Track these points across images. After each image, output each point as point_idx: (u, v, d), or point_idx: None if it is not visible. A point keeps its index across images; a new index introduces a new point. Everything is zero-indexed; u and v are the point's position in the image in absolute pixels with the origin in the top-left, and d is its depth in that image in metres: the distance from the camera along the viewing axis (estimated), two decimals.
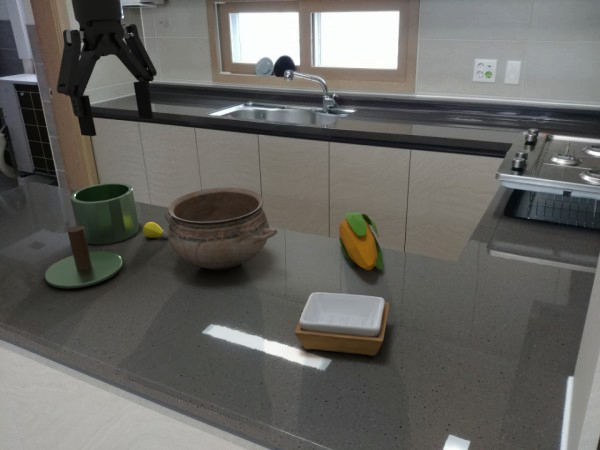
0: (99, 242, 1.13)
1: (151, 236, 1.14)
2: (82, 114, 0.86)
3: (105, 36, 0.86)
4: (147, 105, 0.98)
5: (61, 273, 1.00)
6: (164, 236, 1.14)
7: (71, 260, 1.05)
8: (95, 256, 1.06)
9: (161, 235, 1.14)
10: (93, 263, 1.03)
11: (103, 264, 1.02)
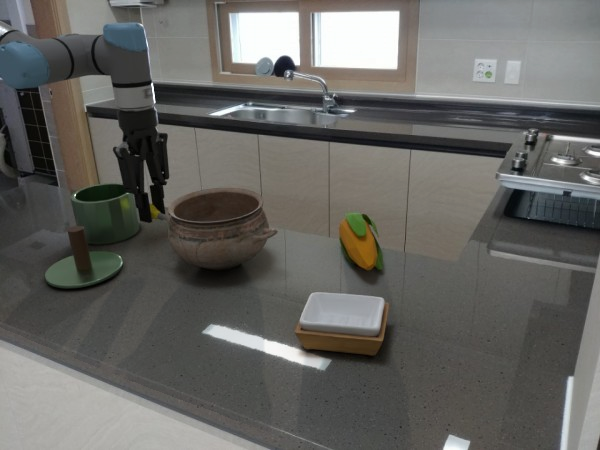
0: (99, 242, 1.13)
1: None
2: (142, 207, 1.10)
3: (143, 141, 1.05)
4: (161, 205, 1.14)
5: (61, 273, 1.00)
6: (160, 217, 1.13)
7: (71, 260, 1.05)
8: (95, 256, 1.06)
9: (157, 216, 1.13)
10: (93, 263, 1.03)
11: (103, 264, 1.02)
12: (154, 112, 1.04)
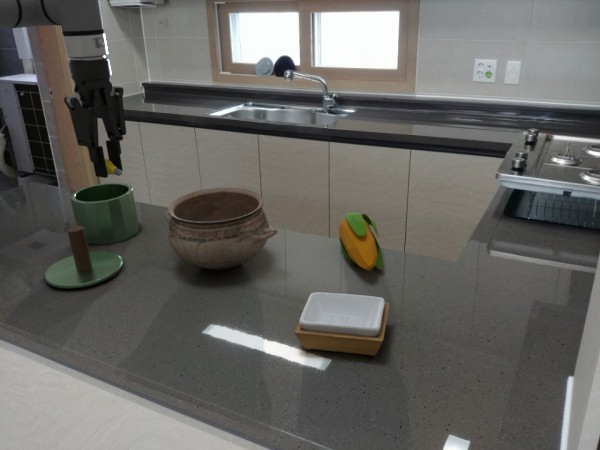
0: (99, 242, 1.13)
1: None
2: (97, 161, 1.09)
3: (96, 92, 1.04)
4: (117, 160, 1.13)
5: (61, 273, 1.00)
6: (116, 172, 1.12)
7: (71, 260, 1.05)
8: (95, 256, 1.06)
9: (114, 171, 1.12)
10: (93, 263, 1.03)
11: (103, 264, 1.02)
12: (106, 63, 1.03)
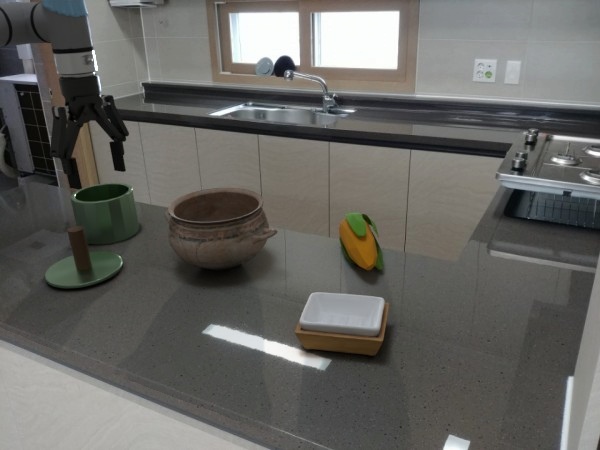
0: (99, 242, 1.13)
1: None
2: (70, 172, 1.07)
3: (86, 108, 1.06)
4: (121, 161, 1.18)
5: (61, 273, 1.00)
6: None
7: (71, 260, 1.05)
8: (95, 256, 1.06)
9: None
10: (93, 263, 1.03)
11: (103, 264, 1.02)
12: (96, 79, 1.05)
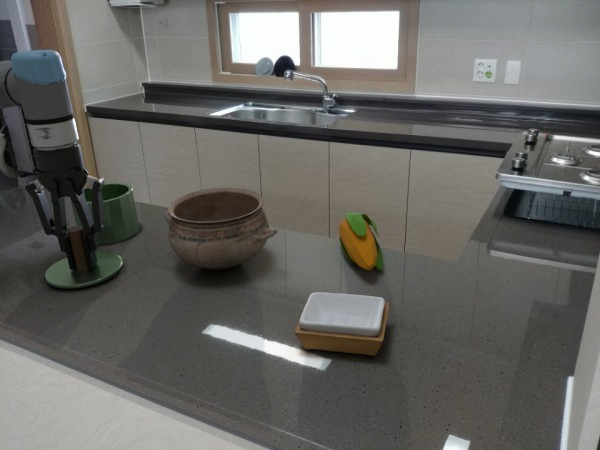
0: (99, 242, 1.13)
1: None
2: (63, 250, 0.99)
3: (52, 183, 0.93)
4: None
5: (61, 273, 1.00)
6: None
7: None
8: None
9: None
10: None
11: (103, 264, 1.02)
12: (55, 155, 0.89)
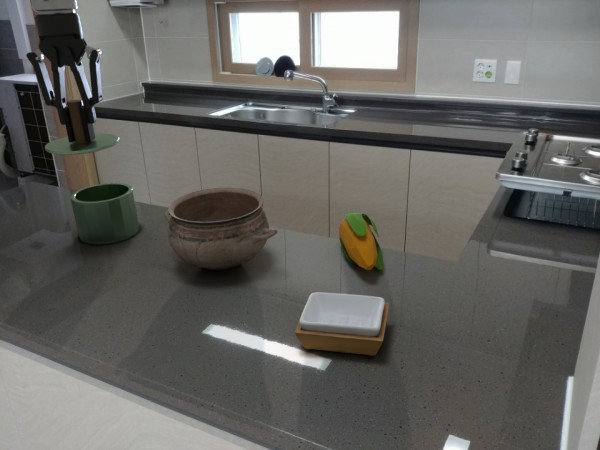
0: (99, 242, 1.13)
1: None
2: (63, 123, 1.04)
3: (52, 50, 0.97)
4: (85, 129, 1.04)
5: (60, 145, 1.04)
6: None
7: None
8: None
9: None
10: None
11: (101, 140, 1.06)
12: (55, 18, 0.93)
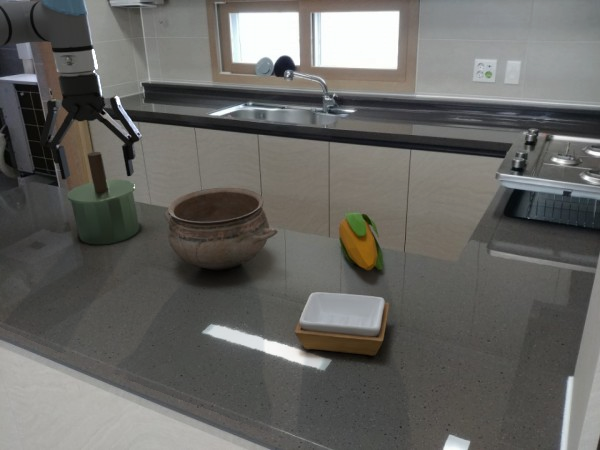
0: (99, 242, 1.13)
1: None
2: (56, 161, 1.12)
3: (74, 107, 1.06)
4: None
5: (81, 193, 1.13)
6: None
7: (89, 185, 1.18)
8: (111, 182, 1.19)
9: None
10: (109, 187, 1.17)
11: (118, 187, 1.16)
12: (77, 80, 1.03)
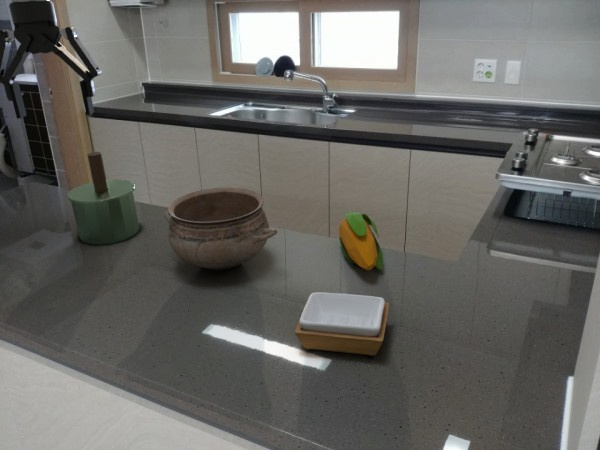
0: (99, 242, 1.13)
1: None
2: (10, 99, 1.05)
3: (26, 37, 0.99)
4: (84, 102, 1.05)
5: (81, 193, 1.13)
6: None
7: (89, 185, 1.18)
8: (111, 182, 1.19)
9: None
10: (109, 187, 1.17)
11: (118, 187, 1.16)
12: (28, 6, 0.96)
